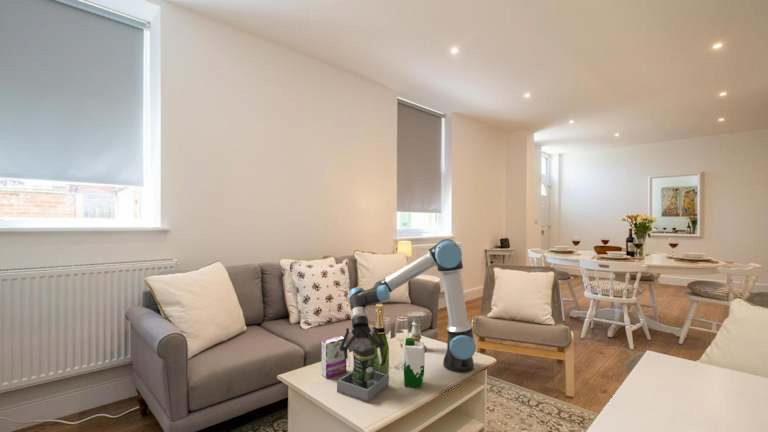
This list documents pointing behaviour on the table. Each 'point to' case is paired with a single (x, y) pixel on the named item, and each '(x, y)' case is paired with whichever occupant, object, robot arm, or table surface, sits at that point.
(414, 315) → the candle holder
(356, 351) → the coffee jar
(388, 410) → the table surface
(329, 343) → the candy bar box
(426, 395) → the table surface
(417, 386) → the milk carton
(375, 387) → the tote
